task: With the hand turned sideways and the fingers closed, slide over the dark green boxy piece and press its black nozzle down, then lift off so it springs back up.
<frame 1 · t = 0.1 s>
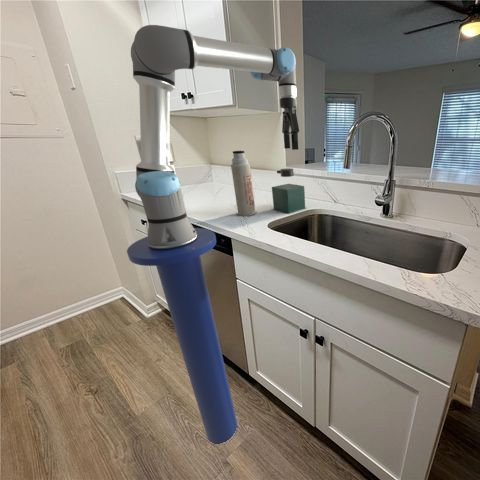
hand: (291, 149, 122), 28 cm above the worktop, tool pointing down, fingers open, 13 cm apart
dark green boxy piece: (289, 208, 128), on the worktop
thermos bottle: (246, 213, 122), on the worktop
display case: (167, 199, 154), on the worktop
nozzle: (284, 172, 123), point 18 cm above the worktop, slide at 0.0 cm
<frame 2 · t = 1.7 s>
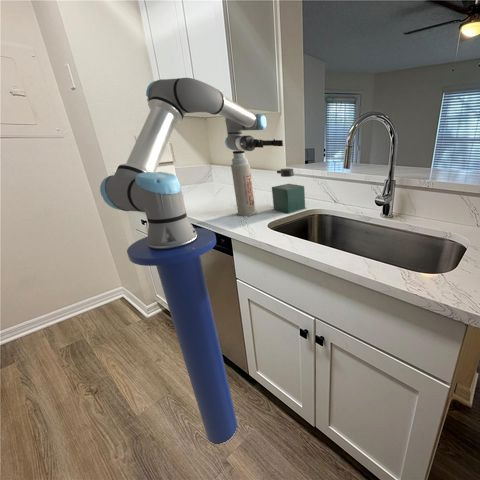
hand: (272, 143, 122), 30 cm above the worktop, tool horizontal, fingers open, 11 cm apart
nothing on the worktop moved.
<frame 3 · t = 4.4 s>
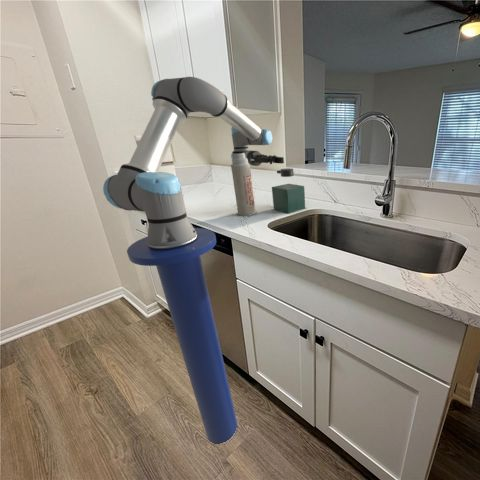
hand: (282, 160, 121), 23 cm above the worktop, tool horizontal, fingers closed
nothing on the worktop moved.
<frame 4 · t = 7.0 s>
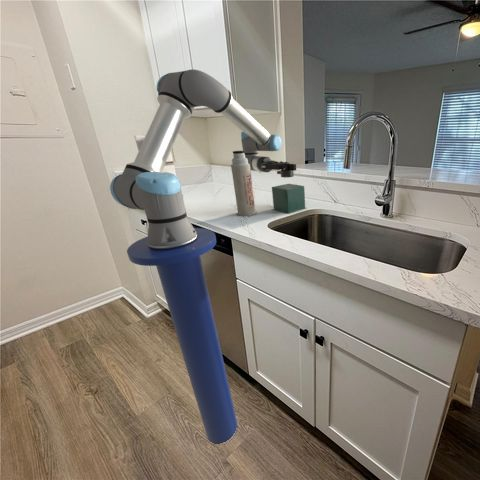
hand: (294, 167, 117), 20 cm above the worktop, tool horizontal, fingers closed
nozzle: (284, 172, 123), point 17 cm above the worktop, slide at -0.3 cm, touching gripper
everything else where it was.
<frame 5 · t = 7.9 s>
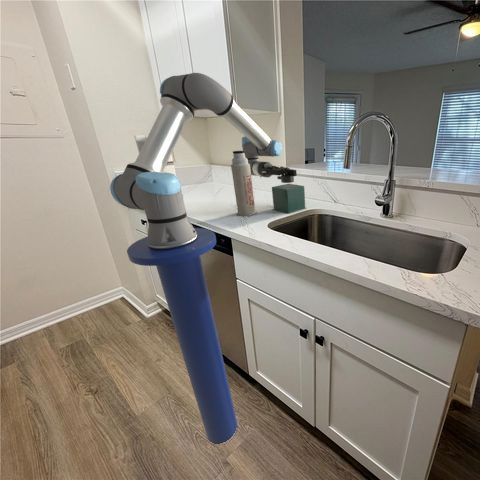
hand: (295, 173, 118), 18 cm above the worktop, tool horizontal, fingers closed
nozzle: (285, 178, 124), point 15 cm above the worktop, slide at -2.8 cm, touching gripper
everything else where it was.
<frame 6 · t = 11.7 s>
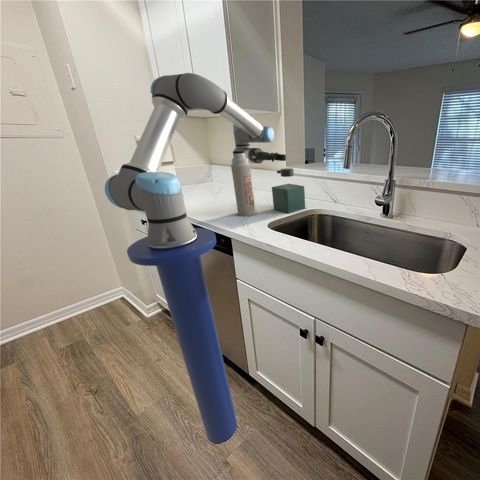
hand: (284, 157, 119), 24 cm above the worktop, tool horizontal, fingers closed
nozzle: (284, 172, 123), point 18 cm above the worktop, slide at 0.0 cm
everything else where it was.
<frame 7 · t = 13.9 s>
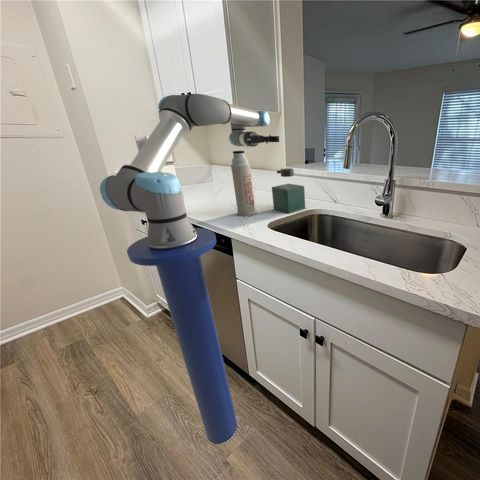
hand: (277, 139, 125), 32 cm above the worktop, tool horizontal, fingers closed
nothing on the worktop moved.
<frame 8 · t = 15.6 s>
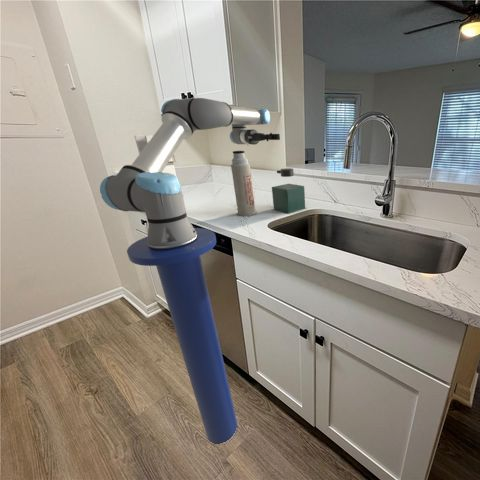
hand: (278, 136, 126), 33 cm above the worktop, tool horizontal, fingers closed
nothing on the worktop moved.
at the end: nozzle pushed in 2.9 cm at the most during the clip, back to where it started at the end; nozzle slide at 0.0 cm; thermos bottle moved 0.2 cm from its start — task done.
